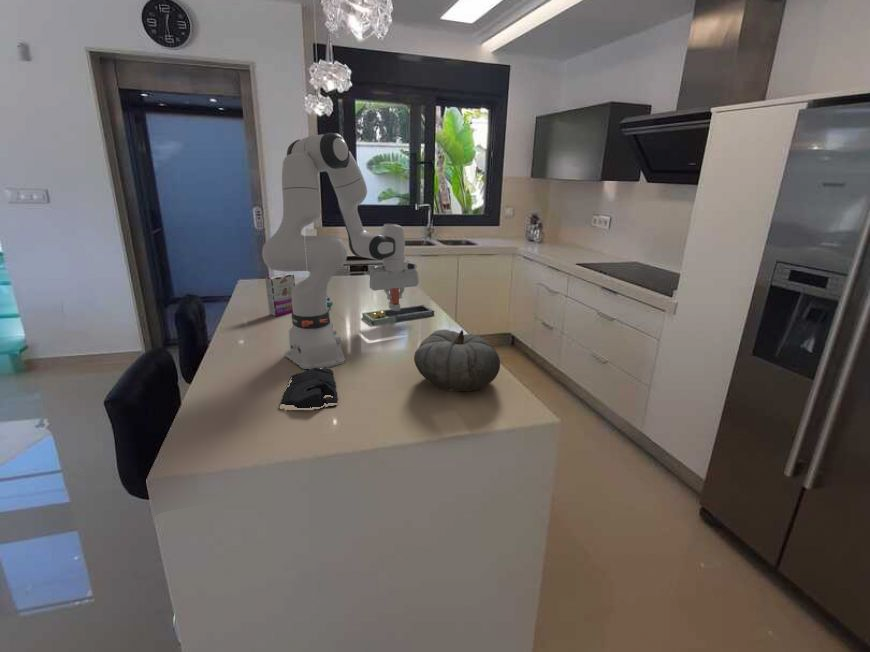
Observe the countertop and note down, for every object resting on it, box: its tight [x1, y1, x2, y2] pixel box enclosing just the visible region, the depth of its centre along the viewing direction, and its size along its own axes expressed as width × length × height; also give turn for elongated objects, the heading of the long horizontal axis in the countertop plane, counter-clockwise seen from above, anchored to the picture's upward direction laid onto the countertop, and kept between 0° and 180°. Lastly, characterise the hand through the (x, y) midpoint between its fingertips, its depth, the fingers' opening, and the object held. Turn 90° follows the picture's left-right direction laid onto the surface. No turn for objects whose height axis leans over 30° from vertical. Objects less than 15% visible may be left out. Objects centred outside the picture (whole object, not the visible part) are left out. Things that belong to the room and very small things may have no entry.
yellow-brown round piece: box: [377, 310, 387, 319], centre depth 186 cm, size 4×4×4 cm
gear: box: [327, 295, 334, 310], centre depth 199 cm, size 11×6×10 cm
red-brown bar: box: [388, 288, 401, 311], centre depth 184 cm, size 6×3×10 cm, turn 28°
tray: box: [362, 309, 397, 326], centre depth 185 cm, size 11×10×3 cm
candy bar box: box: [265, 272, 296, 317], centre depth 192 cm, size 11×5×16 cm, turn 143°
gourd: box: [413, 328, 501, 392], centre depth 132 cm, size 25×25×17 cm
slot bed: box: [385, 304, 435, 322], centre depth 191 cm, size 10×18×3 cm, turn 119°
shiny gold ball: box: [370, 313, 378, 319], centre depth 184 cm, size 4×4×4 cm
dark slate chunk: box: [280, 368, 339, 408], centre depth 126 cm, size 15×22×5 cm
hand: (394, 298), depth 184 cm, fingers closed on red-brown bar, 3 cm apart
